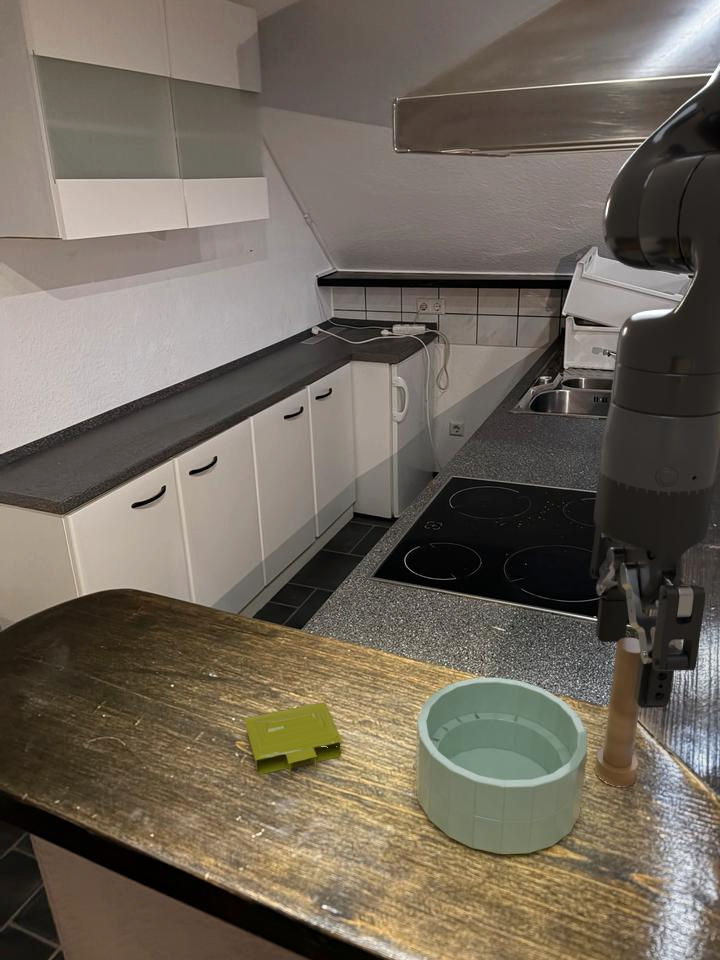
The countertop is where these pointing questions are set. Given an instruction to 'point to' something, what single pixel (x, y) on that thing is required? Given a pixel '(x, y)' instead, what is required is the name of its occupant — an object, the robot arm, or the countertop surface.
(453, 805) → the bowl
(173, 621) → the countertop surface
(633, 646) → the stirring stick
